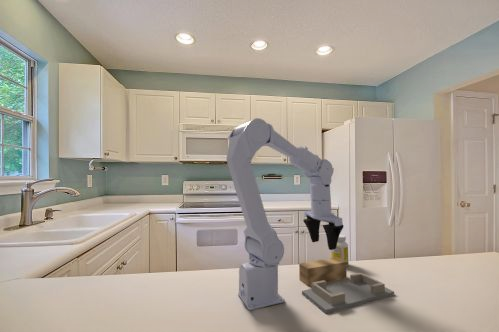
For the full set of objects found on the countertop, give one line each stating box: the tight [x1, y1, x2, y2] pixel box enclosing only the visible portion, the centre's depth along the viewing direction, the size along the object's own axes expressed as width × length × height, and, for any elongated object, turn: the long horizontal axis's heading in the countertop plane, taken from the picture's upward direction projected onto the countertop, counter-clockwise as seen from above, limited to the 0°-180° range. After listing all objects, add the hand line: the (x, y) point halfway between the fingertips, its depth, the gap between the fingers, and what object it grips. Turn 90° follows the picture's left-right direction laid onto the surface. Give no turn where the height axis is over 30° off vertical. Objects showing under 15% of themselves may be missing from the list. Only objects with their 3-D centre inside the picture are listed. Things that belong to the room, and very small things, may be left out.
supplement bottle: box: [331, 234, 349, 268], centre depth 79 cm, size 5×5×10 cm
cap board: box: [301, 272, 395, 314], centre depth 59 cm, size 22×9×3 cm, turn 112°
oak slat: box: [298, 257, 348, 287], centre depth 68 cm, size 14×4×5 cm, turn 112°
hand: (323, 245), depth 68 cm, fingers open, 7 cm apart
